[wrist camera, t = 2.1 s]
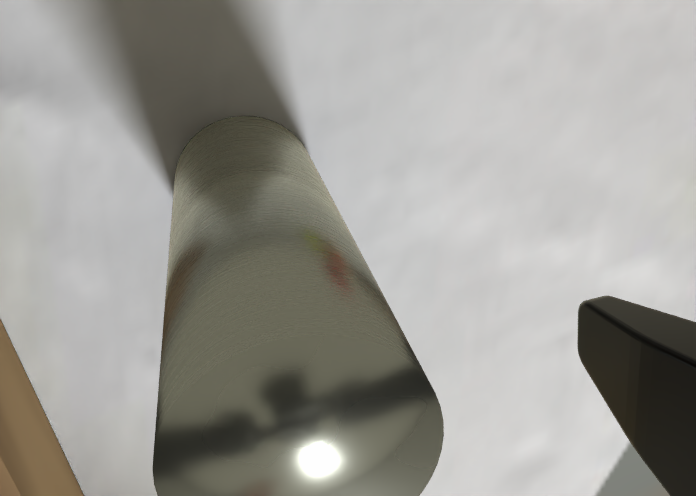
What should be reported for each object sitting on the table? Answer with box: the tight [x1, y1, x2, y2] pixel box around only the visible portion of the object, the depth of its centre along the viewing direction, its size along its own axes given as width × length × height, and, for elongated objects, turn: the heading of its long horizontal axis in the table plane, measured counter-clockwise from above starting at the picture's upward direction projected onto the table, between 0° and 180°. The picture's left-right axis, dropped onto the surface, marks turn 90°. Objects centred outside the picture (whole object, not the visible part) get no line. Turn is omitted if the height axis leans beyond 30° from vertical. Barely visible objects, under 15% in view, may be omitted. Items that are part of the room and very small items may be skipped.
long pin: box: [153, 116, 444, 496], centre depth 12 cm, size 4×4×10 cm
